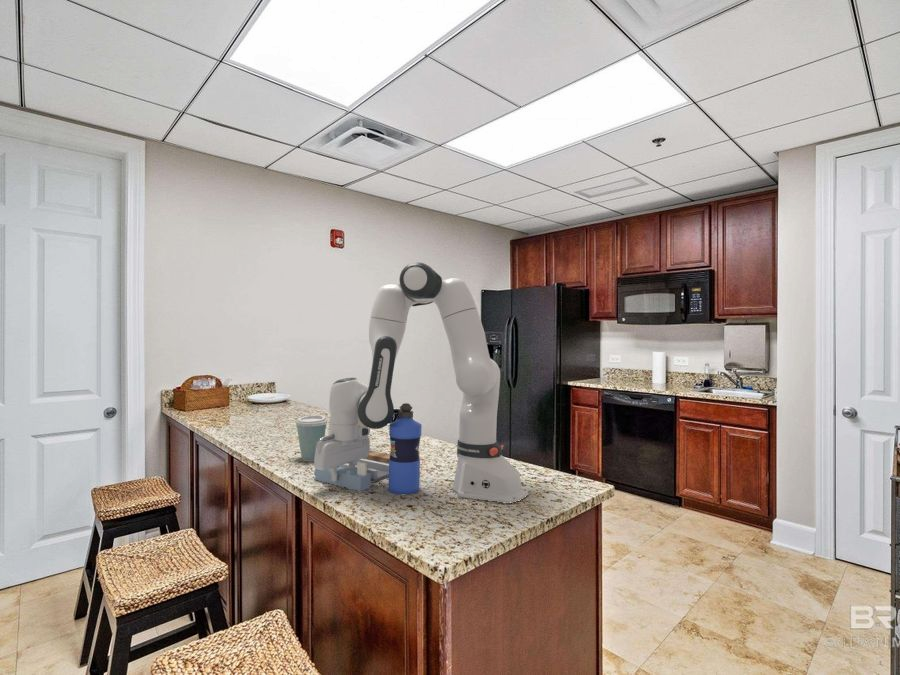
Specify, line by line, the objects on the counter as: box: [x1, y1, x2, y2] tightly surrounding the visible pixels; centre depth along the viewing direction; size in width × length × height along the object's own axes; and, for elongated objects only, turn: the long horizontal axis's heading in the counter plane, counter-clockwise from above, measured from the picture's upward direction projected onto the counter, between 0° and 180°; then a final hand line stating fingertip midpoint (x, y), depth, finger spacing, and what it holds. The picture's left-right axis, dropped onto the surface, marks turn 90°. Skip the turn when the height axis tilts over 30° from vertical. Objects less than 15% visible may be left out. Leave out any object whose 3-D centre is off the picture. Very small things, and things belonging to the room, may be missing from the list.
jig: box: [339, 459, 389, 483], centre depth 153 cm, size 22×11×3 cm, turn 59°
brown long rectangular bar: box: [362, 450, 390, 464], centre depth 165 cm, size 20×5×3 cm, turn 59°
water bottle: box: [387, 402, 423, 495], centre depth 137 cm, size 9×9×25 cm
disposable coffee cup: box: [295, 414, 328, 463], centre depth 167 cm, size 11×11×15 cm
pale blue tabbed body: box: [313, 462, 372, 492], centre depth 141 cm, size 20×4×8 cm, turn 59°
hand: (342, 478), depth 141 cm, fingers closed on pale blue tabbed body, 4 cm apart
